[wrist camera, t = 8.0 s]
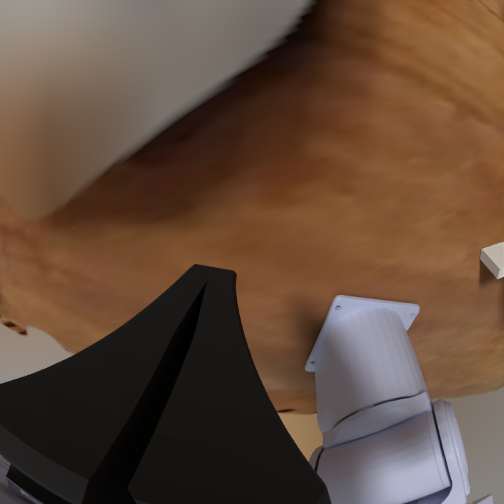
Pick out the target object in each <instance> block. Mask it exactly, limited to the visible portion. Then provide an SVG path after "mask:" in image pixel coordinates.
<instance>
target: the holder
mask: <svg viewBox="0 0 504 504" xmlns="http://www.w3.org/2000/svg"><path fill="white" fill-rule="evenodd" d="M480 260H481V261H482V262H483V263H484V264H485V265H486V266H487V267H488V269H489V270H490V271H491V272H492V273H493V274H494V276H495V277H496V278H497V279H499V278H502V277H504V242H501V243H498V244H495V245H492V246H489V247H486V248H483V249H481V255H480Z"/></svg>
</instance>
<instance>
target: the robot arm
mask: <svg viewBox="0 0 504 504" xmlns="http://www.w3.org/2000/svg"><path fill="white" fill-rule="evenodd" d="M236 277H237V274H236V273H235V272H234V271H232V270H227V269H221V268H215V267H209V266H204V265H198V264H195V265H193V266H192V267H191V268H190V269H189V270H187V271H186V272H185V273H184V274H183V275H182V276H181V277H180V278H179V279H178V280H177V281H176V282H175V283H174V284H173V285H172V286H170V287H169V288H168V289H167V290H166V291H165V292H164V293H162V294H161V295H160V296H159V297H158V298H157V299H156V300H154V301H153V302H152V303H151V304H150V305H148V306H147V307H146V308H145V309H143V310H142V311H141V312H139V313H138V314H137V315H136V316H134V317H133V318H132V319H131V320H129V321H128V322H126V323H125V324H124V325H122V326H121V327H119V328H118V329H116V330H115V331H114V332H112V333H110V334H109V335H107V336H106V337H104V338H103V339H101V340H99V341H98V342H96V343H94V344H93V345H91V346H89V347H87V348H86V349H84V350H82V351H80V352H78V353H77V354H75V355H73V356H71V357H69V358H67V359H65V360H63V361H61V362H58V363H56V364H54V365H52V366H50V367H47V368H45V369H42V370H40V371H38V372H35V373H32V374H30V375H27V376H24V377H21V378H18V379H15V380H12V381H8V382H5V383H2V384H0V504H466V502H467V495H468V494H469V493H470V483H469V476H468V472H469V468H468V463H467V458H466V454H465V449H464V445H463V441H462V437H461V434H460V430H459V426H458V423H457V420H456V417H455V414H454V411H453V408H452V405H451V403H450V402H446V401H443V400H442V399H439V400H437V401H435V402H434V404H433V402H432V400H431V399H430V396H429V393H428V390H427V387H426V384H425V381H424V378H423V375H422V372H421V369H420V366H419V363H418V360H417V358H416V355H415V352H414V350H413V347H412V344H411V342H410V339H409V337H408V334H407V330H408V329H409V327H410V325H411V324H412V322H413V321H414V319H415V317H416V316H417V314H418V312H419V310H420V308H419V306H418V305H417V304H411V303H402V302H394V301H385V300H377V299H369V298H361V297H353V296H345V295H338V296H336V297H335V298H334V300H333V302H332V305H331V307H330V310H329V312H328V315H327V317H326V320H325V322H324V324H323V327H322V329H321V331H320V334H319V336H318V338H317V341H316V343H315V345H314V347H313V349H312V352H311V354H310V356H309V358H308V360H307V362H306V365H305V370H306V371H310V372H315V384H316V401H317V419H318V425H319V428H320V430H321V432H322V433H323V445H322V446H320V447H318V448H317V449H315V451H314V452H313V453H312V455H311V457H310V459H309V462H308V461H307V459H306V458H305V457H304V455H303V454H302V452H301V451H300V450H299V448H298V447H297V445H296V443H295V442H294V440H293V439H292V437H291V436H290V434H289V433H288V431H287V429H286V428H285V426H284V424H283V422H282V421H281V419H280V417H279V415H278V413H277V411H276V410H275V408H274V406H273V404H272V402H271V400H270V398H269V397H268V395H267V392H266V390H265V388H264V386H263V384H262V381H261V379H260V377H259V375H258V372H257V370H256V367H255V365H254V362H253V359H252V357H251V354H250V351H249V348H248V345H247V341H246V338H245V335H244V331H243V327H242V323H241V319H240V314H239V309H238V304H237V296H236ZM338 305H340V306H339V307H336V306H338ZM20 489H21V490H22V491H23V492H25V493H26V494H27V495H25V494H23V493H21V491H20ZM28 495H29V496H28ZM470 504H493V498H492V494H489V495H487V496H485V497H482V498H480V499H478V500H476V501H474V502H472V503H470Z"/></svg>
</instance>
